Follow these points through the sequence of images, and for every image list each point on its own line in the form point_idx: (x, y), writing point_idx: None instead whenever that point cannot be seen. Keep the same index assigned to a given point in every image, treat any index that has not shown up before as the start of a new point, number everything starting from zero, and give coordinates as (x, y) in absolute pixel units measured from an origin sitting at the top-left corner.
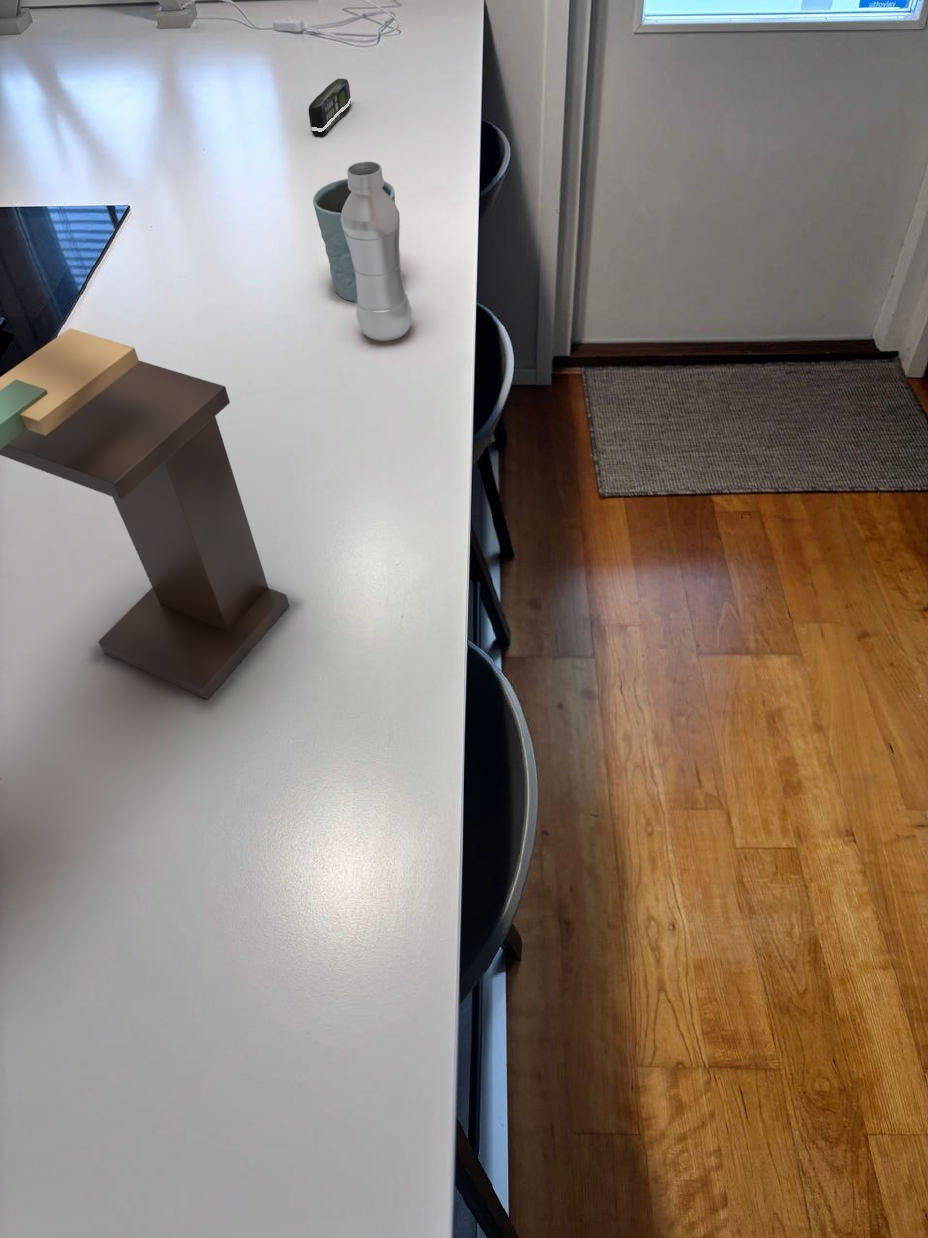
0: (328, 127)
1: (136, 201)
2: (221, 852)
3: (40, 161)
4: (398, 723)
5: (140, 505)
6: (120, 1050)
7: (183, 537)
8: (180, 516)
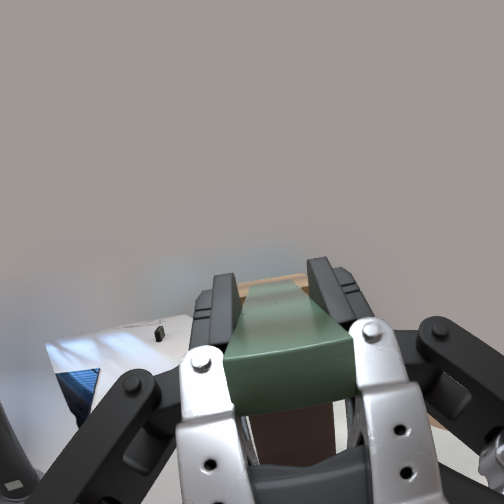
0: (161, 338)
1: (101, 366)
2: None
3: (61, 361)
4: (464, 459)
5: (284, 426)
6: None
7: (323, 434)
8: (328, 414)
